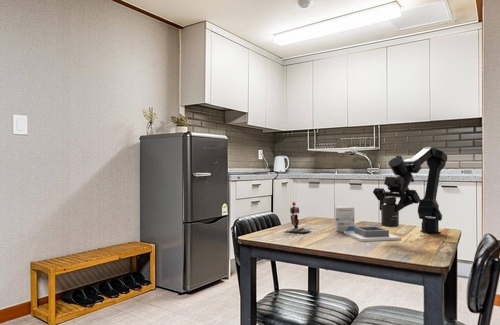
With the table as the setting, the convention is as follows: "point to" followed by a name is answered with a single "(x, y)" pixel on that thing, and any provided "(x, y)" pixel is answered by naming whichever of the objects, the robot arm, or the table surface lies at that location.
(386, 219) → the supplement bottle
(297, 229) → the statue
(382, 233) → the pocket plate
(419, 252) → the table surface
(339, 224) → the ink box
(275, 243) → the table surface
